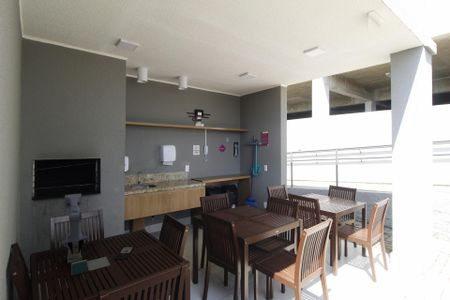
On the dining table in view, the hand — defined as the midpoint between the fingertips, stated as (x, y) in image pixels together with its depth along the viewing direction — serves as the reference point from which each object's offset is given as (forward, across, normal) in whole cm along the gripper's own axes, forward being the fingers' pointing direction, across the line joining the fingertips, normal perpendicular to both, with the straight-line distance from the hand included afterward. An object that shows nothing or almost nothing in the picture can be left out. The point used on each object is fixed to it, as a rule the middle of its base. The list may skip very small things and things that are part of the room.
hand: (75, 253), depth 152 cm
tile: (+10, +2, -7) cm, 12 cm away
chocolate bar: (+11, +30, +5) cm, 32 cm away
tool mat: (+10, +12, -1) cm, 16 cm away
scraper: (+4, 0, 0) cm, 4 cm away
